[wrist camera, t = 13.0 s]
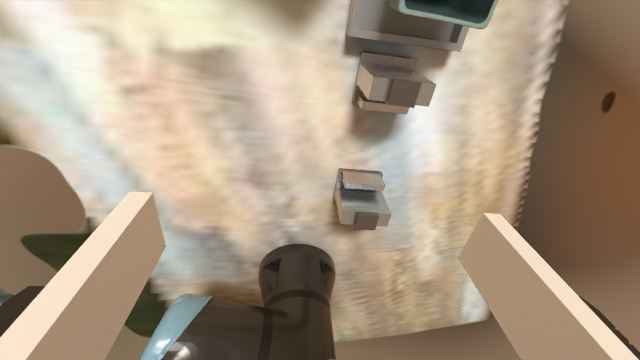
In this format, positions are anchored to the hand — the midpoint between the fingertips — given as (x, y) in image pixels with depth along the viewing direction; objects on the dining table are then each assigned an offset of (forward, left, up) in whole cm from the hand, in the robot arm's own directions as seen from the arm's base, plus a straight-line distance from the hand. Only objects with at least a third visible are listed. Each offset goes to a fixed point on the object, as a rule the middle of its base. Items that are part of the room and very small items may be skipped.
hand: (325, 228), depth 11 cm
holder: (-8, -10, -29) cm, 31 cm away
